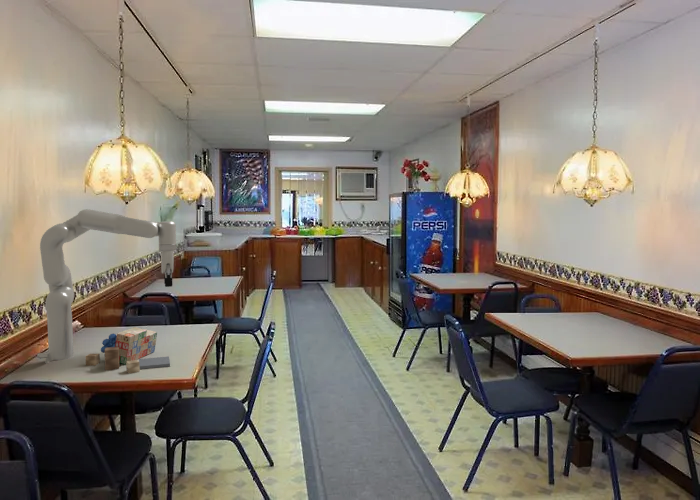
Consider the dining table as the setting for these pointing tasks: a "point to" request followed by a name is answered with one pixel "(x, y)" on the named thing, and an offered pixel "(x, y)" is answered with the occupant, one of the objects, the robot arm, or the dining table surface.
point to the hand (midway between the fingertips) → (168, 285)
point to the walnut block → (111, 358)
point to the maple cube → (132, 366)
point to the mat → (154, 362)
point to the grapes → (109, 342)
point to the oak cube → (92, 359)
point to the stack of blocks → (135, 344)
